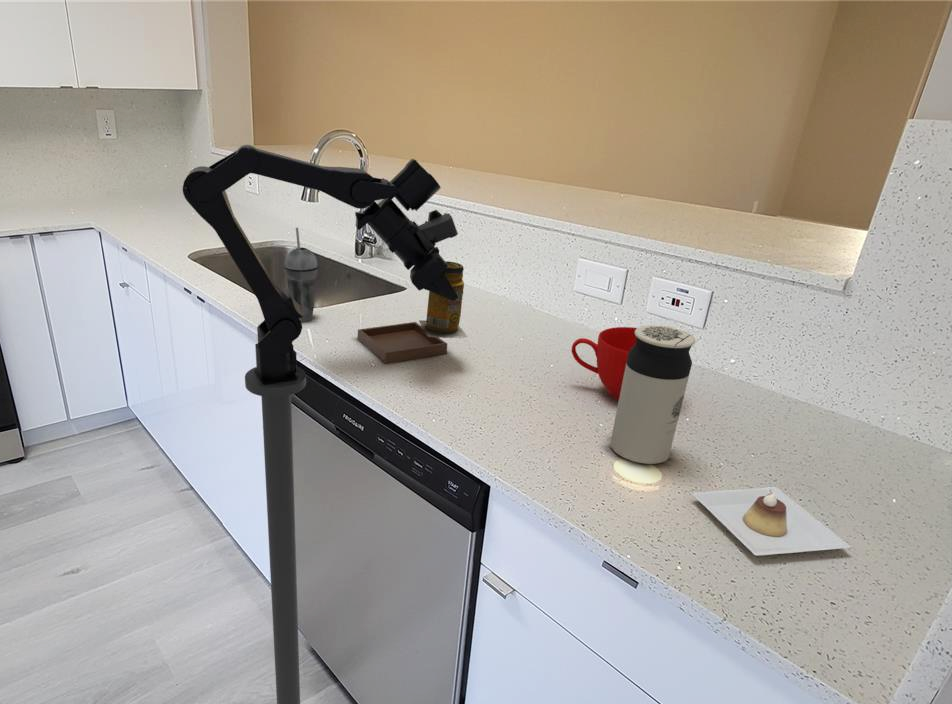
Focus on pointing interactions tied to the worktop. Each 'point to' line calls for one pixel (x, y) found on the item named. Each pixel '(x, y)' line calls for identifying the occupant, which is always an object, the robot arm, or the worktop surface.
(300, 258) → the beverage cup
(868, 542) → the worktop surface
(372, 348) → the tray
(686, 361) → the travel mug
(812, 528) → the dessert
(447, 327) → the condiment
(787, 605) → the worktop surface
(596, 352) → the ceramic cup
